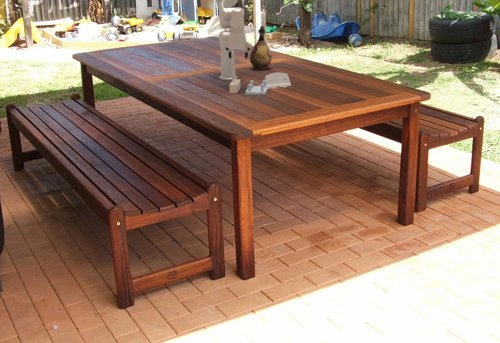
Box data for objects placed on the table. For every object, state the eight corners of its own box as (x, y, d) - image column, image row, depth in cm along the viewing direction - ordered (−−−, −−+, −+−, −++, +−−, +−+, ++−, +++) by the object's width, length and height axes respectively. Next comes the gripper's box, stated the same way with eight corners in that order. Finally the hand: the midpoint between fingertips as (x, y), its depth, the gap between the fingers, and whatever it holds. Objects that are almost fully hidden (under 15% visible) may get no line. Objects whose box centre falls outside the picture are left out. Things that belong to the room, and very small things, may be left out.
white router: (266, 89, 435) (264, 73, 435) (264, 90, 439) (262, 74, 439) (291, 86, 440) (289, 70, 440) (289, 87, 444) (287, 72, 444)
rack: (249, 88, 438) (249, 79, 436) (268, 88, 436) (268, 79, 434) (245, 94, 421) (245, 85, 419) (265, 94, 419) (265, 85, 417)
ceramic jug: (271, 71, 489) (271, 27, 479) (249, 71, 490) (249, 28, 480) (271, 66, 505) (271, 24, 496) (250, 66, 506) (249, 25, 496)
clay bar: (233, 87, 441) (233, 79, 439) (240, 87, 440) (240, 79, 438) (229, 93, 426) (229, 84, 424) (237, 93, 425) (236, 84, 423)
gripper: (222, 30, 419) (223, 59, 424) (250, 30, 416) (251, 59, 421) (224, 29, 426) (225, 57, 431) (252, 29, 423) (253, 57, 428)
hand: (238, 58), depth 426 cm, fingers open, 9 cm apart
